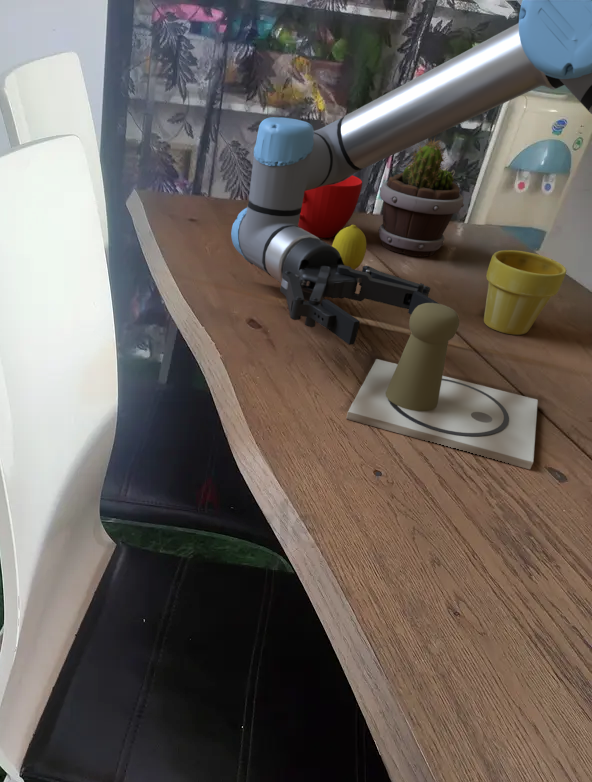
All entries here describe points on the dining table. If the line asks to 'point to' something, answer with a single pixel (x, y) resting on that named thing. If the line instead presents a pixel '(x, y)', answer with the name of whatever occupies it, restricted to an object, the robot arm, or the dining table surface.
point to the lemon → (351, 246)
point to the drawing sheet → (454, 417)
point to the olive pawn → (423, 358)
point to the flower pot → (519, 289)
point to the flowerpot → (419, 204)
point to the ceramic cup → (329, 207)
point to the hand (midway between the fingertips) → (402, 327)
